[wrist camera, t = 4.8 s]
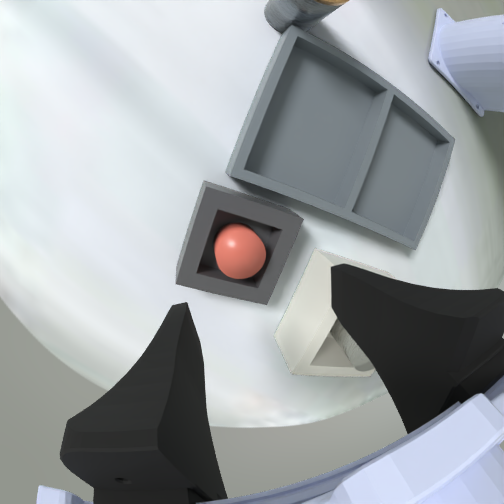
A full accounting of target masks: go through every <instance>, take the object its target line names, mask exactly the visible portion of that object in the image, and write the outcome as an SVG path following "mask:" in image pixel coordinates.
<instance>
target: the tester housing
mask: <svg viewBox="0 0 504 504" xmlns="http://www.w3.org/2000/svg"><path fill="white" fill-rule="evenodd" d="M234 222H240V223H244V224H246V225H248V226H250V227H251V228H252V229H253V230H254V231H255V233H256V234H257V235H258V237H259V238H260V240H261V241H262V242H263V244H264V246H265V250H266V258H265V262H264V264H263V266H262V268H261V269H260V270H259V271H258V272H257V273H256V274H254V275H253V276H251V277H248V278H245V279H234V278H231V277H228V276H227V275H225V274H224V273H223V272H222V271H221V270H220V268H219V267H218V264H217V261H216V257H215V253H214V248H213V241H214V238H215V235H216V234H217V232H218V231H219V230H220V229H221V228H222V227H223V226H225V225H227V224H229V223H234ZM302 222H303V218H301V217H300V216H298V215H297V214H296V213H294V212H293V211H291V210H290V209H287V208H285V207H282V206H279V205H276V204H273V203H270V202H267V201H265V200H262V199H259V198H256V197H253V196H250V195H247V194H244V193H241V192H238V191H235V190H232V189H229V188H226V187H223V186H220V185H217V184H213V183H210V182H207V181H203V184H202V187H201V190H200V193H199V196H198V199H197V202H196V205H195V208H194V211H193V214H192V217H191V220H190V224H189V227H188V230H187V233H186V236H185V240H184V243H183V246H182V250H181V253H180V256H179V260H178V263H177V267H176V284H178V285H182V286H186V287H190V288H194V289H198V290H202V291H206V292H211V293H215V294H219V295H223V296H228V297H232V298H237V299H241V300H246V301H251V302H255V303H260V304H265V305H267V303H268V301H269V299H270V297H271V294H272V292H273V290H274V288H275V285H276V283H277V281H278V278H279V276H280V274H281V272H282V269H283V267H284V265H285V262H286V260H287V258H288V255H289V253H290V250H291V248H292V246H293V243H294V241H295V239H296V236H297V234H298V231H299V229H300V227H301V224H302Z"/></svg>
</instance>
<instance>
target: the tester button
mask: <svg viewBox="0 0 504 504" xmlns="http://www.w3.org/2000/svg"><path fill="white" fill-rule="evenodd" d="M213 248H214V253H215V257H216V261H217V264H218V267H219V268H220V270H221V271H222V272H223V273H224V274H225V275H227V276H228V277H231V278H234V279H245V278H248V277H251V276H253V275H254V274H256V273H257V272H258V271H259V270H260V269H261V268H262V266H263V264H264V262H265V258H266V250H265V246H264V244H263V242H262V241H261V240H260V238H259V237H258V235H257V234H256V233H255V231H254V230H253V229H252V228H251V227H250V226H248V225H246V224H244V223H240V222H234V223H229V224H227V225H225V226H223V227H222V228H221V229H220V230H219V231H218V232H217V234H216V235H215V238H214V241H213Z"/></svg>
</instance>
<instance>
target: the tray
mask: <svg viewBox="0 0 504 504" xmlns="http://www.w3.org/2000/svg"><path fill="white" fill-rule="evenodd" d="M454 142H455V139H454V138H453V137H452V136H451V135H450V134H449V133H448V132H447V131H446V130H445V129H444V128H443V127H442V126H441V125H440V124H439V123H438V122H436V121H435V120H434V119H433V118H432V117H431V116H430V115H429V114H428V113H426V112H425V111H424V110H423V109H422V108H421V107H420V106H418V105H417V104H416V103H415V102H414V101H412V100H411V99H410V98H409V97H407V96H406V95H405V94H404V93H402V92H401V91H400V90H399V89H397V88H396V87H395V86H393V85H392V84H391V83H389V82H388V81H386V80H385V79H384V78H382V77H381V76H380V75H378V74H377V73H375V72H374V71H372V70H371V69H369V68H368V67H366V66H365V65H363V64H362V63H360V62H359V61H357V60H356V59H354V58H352V57H351V56H349V55H347V54H346V53H344V52H342V51H341V50H339V49H337V48H336V47H334V46H332V45H330V44H329V43H327V42H325V41H323V40H321V39H319V38H317V37H316V36H314V35H312V34H310V33H308V32H306V31H304V30H302V29H300V28H297V27H295V26H293V25H291V26H290V27H289V28H288V29H287V30H286V31H285V32H284V33H283V34H282V35H281V37H280V39H279V42H278V44H277V46H276V48H275V50H274V53H273V55H272V57H271V59H270V62H269V64H268V66H267V69H266V71H265V73H264V76H263V78H262V80H261V83H260V85H259V87H258V90H257V92H256V95H255V97H254V99H253V102H252V104H251V107H250V109H249V112H248V114H247V117H246V119H245V122H244V124H243V127H242V129H241V132H240V135H239V137H238V140H237V142H236V145H235V148H234V150H233V153H232V156H231V158H230V161H229V164H228V166H227V169H226V173H227V174H228V175H229V176H232V177H235V178H238V179H241V180H244V181H246V182H249V183H252V184H255V185H258V186H261V187H263V188H266V189H269V190H272V191H275V192H277V193H280V194H283V195H285V196H288V197H291V198H293V199H296V200H299V201H301V202H304V203H306V204H309V205H312V206H314V207H317V208H319V209H322V210H324V211H327V212H329V213H332V214H334V215H337V216H339V217H341V218H344V219H346V220H349V221H351V222H353V223H356V224H358V225H360V226H363V227H365V228H367V229H370V230H372V231H374V232H376V233H379V234H381V235H383V236H385V237H388V238H390V239H392V240H394V241H396V242H399V243H401V244H403V245H405V246H407V247H409V248H412V249H414V250H416V248H417V246H418V243H419V241H420V239H421V237H422V234H423V232H424V229H425V227H426V225H427V222H428V220H429V217H430V215H431V212H432V210H433V207H434V204H435V202H436V199H437V196H438V193H439V191H440V188H441V185H442V182H443V179H444V176H445V173H446V170H447V166H448V163H449V160H450V157H451V153H452V150H453V146H454Z"/></svg>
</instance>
